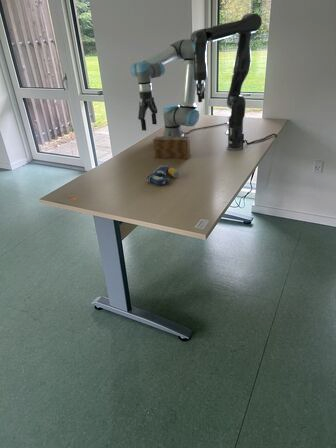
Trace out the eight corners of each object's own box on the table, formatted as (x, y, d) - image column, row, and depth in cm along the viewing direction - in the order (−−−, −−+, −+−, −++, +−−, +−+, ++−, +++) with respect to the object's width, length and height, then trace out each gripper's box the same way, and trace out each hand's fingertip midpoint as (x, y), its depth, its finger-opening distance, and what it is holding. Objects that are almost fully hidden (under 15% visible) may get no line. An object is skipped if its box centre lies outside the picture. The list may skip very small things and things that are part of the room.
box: (155, 158, 215) (153, 139, 209) (157, 154, 220) (155, 136, 214) (188, 158, 209) (187, 139, 203) (190, 155, 214) (189, 136, 207)
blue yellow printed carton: (184, 172, 190) (161, 169, 197) (183, 165, 188) (160, 163, 195) (168, 188, 175) (143, 185, 181) (167, 180, 173) (142, 177, 179)
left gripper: (140, 95, 185) (145, 133, 196) (160, 87, 204) (163, 122, 215) (129, 95, 189) (134, 132, 200) (150, 87, 207) (153, 121, 218)
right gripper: (204, 72, 183) (205, 103, 191) (208, 68, 194) (209, 97, 203) (191, 73, 185) (192, 103, 193) (196, 69, 196) (197, 98, 205)
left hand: (149, 127), depth 207 cm, fingers open, 13 cm apart
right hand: (201, 100), depth 198 cm, fingers open, 8 cm apart
